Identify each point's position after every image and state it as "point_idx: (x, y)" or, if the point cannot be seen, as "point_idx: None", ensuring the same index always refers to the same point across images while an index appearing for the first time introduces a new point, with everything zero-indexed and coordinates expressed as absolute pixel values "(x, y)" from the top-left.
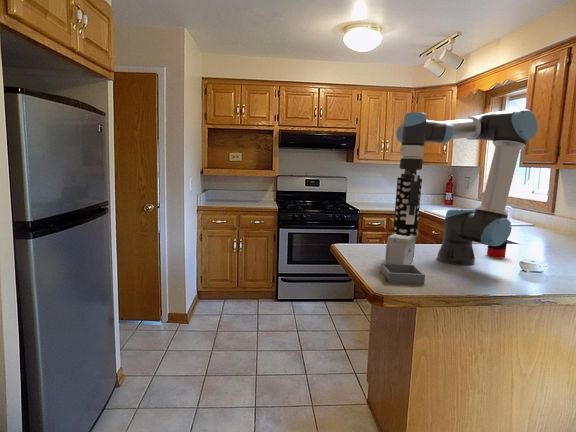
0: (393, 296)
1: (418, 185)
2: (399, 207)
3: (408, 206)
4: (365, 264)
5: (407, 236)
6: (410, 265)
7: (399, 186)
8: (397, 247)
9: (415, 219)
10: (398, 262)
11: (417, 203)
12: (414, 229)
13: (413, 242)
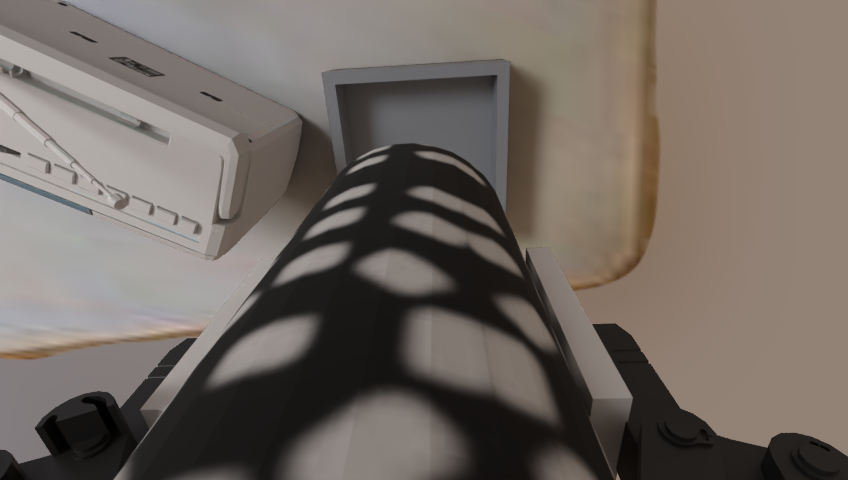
0: (652, 227)
1: None
2: None
3: (611, 468)
4: (250, 265)
5: (87, 106)
6: (337, 95)
7: None
8: (260, 184)
9: (518, 248)
10: (292, 149)
11: (838, 465)
12: (499, 205)
13: None
